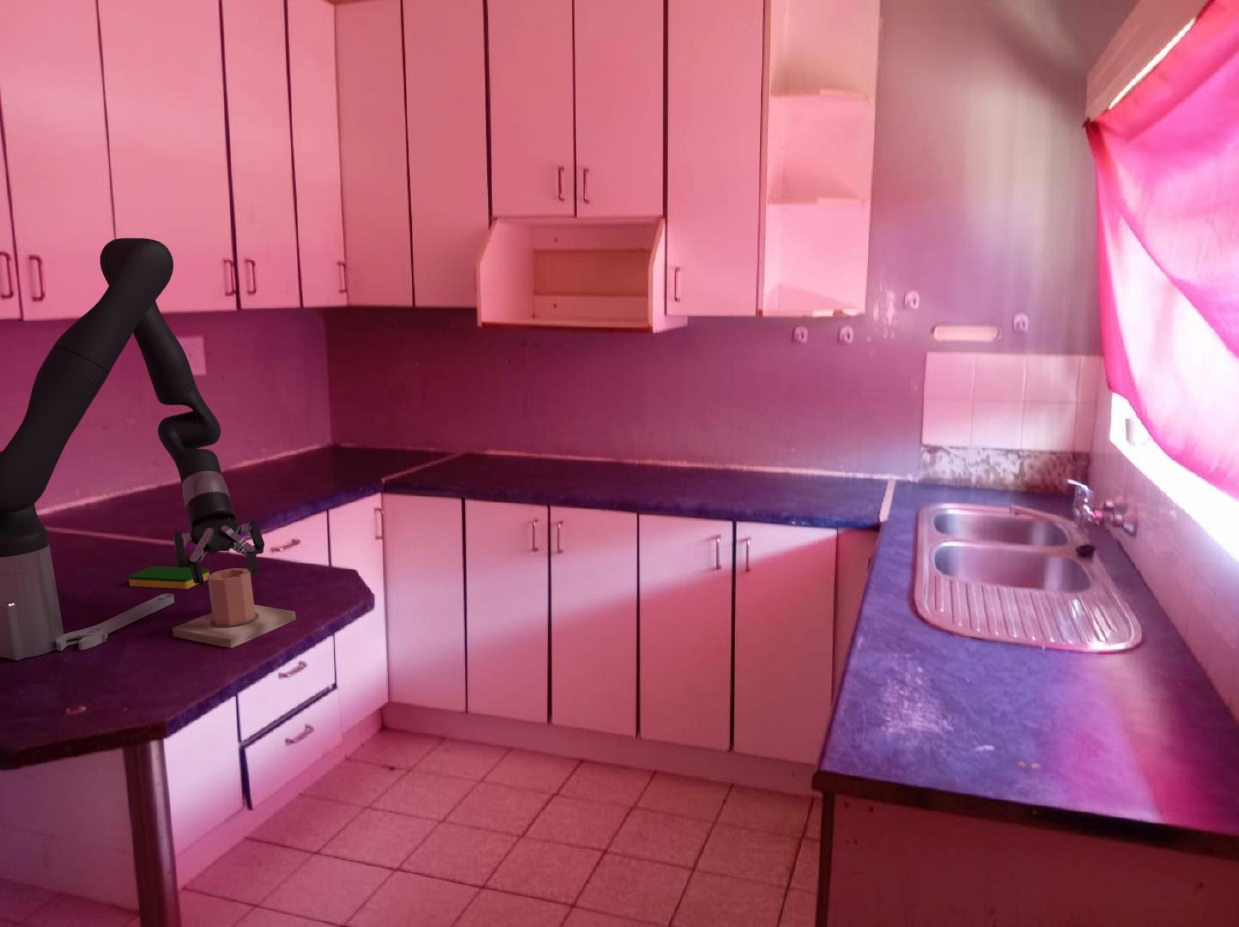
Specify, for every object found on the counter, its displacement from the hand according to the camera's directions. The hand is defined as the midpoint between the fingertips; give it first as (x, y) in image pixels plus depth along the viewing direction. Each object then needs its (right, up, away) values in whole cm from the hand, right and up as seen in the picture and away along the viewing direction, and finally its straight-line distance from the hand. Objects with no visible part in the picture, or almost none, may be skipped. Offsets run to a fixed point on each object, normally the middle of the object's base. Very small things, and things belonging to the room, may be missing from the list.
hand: (228, 578), depth 165 cm
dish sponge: (-24, -5, +29) cm, 38 cm away
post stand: (+1, -9, +1) cm, 9 cm away
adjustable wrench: (-20, -9, +4) cm, 22 cm away
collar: (+1, -7, 0) cm, 7 cm away
